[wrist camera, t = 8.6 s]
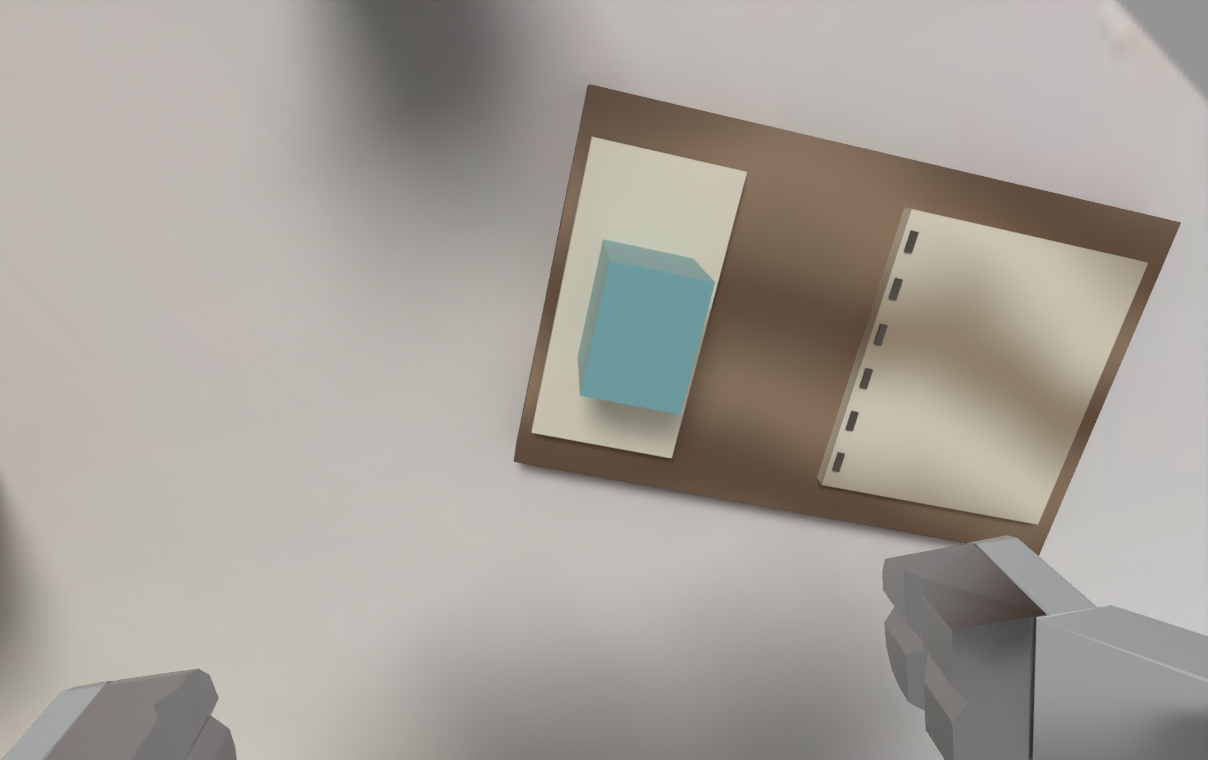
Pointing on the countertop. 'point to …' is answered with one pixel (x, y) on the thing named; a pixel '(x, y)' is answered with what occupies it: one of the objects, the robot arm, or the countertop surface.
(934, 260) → the board
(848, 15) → the countertop surface
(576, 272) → the panel
